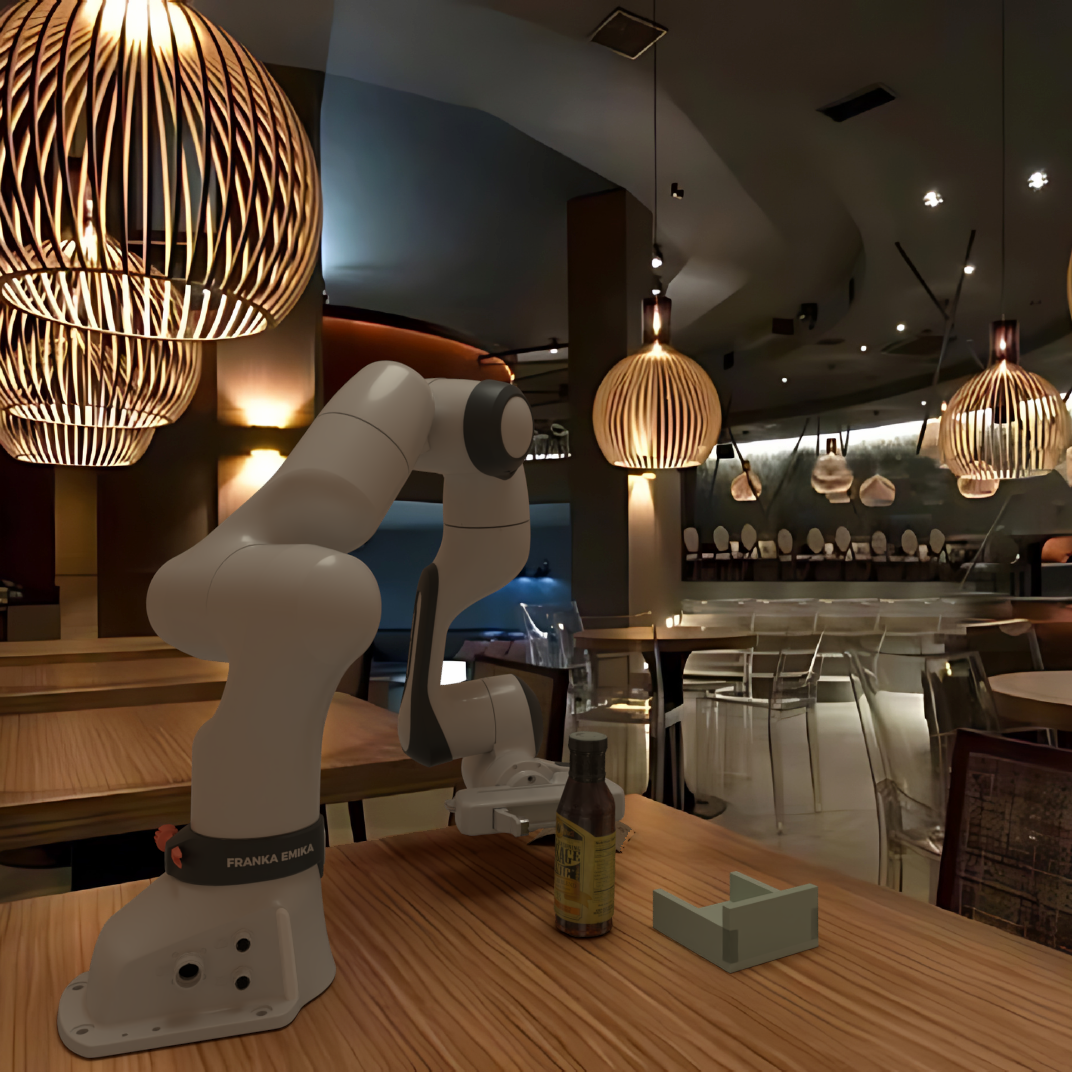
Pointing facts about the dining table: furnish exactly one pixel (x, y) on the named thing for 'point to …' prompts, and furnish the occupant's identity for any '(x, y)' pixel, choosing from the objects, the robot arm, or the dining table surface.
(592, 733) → the sauce bottle
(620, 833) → the grey curved piece
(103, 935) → the robot arm
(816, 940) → the caddy
